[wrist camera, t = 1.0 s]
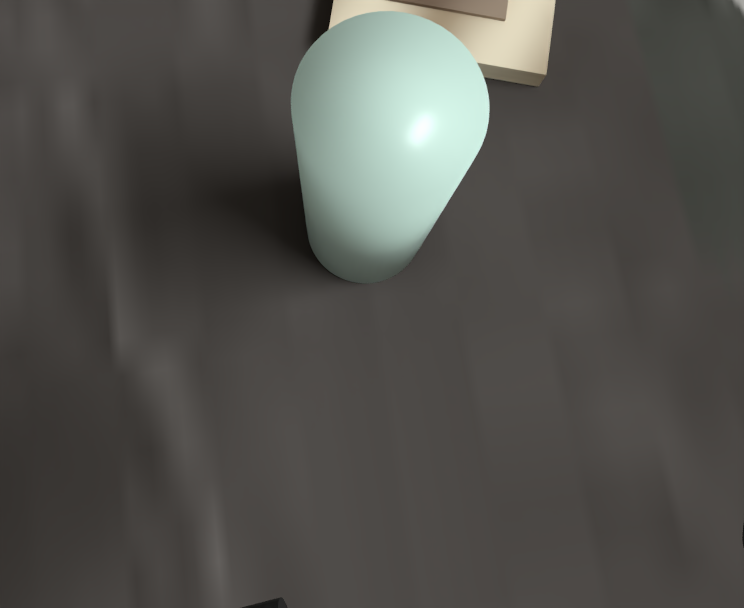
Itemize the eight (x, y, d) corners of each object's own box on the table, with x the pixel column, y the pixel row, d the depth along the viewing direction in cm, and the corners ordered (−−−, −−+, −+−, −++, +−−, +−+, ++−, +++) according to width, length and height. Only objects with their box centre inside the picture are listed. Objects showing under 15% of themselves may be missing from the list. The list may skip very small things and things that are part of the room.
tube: (297, 273, 30) (275, 182, 17) (317, 161, 31) (308, -5, 18) (413, 292, 30) (475, 216, 18) (429, 181, 31) (501, 29, 18)
